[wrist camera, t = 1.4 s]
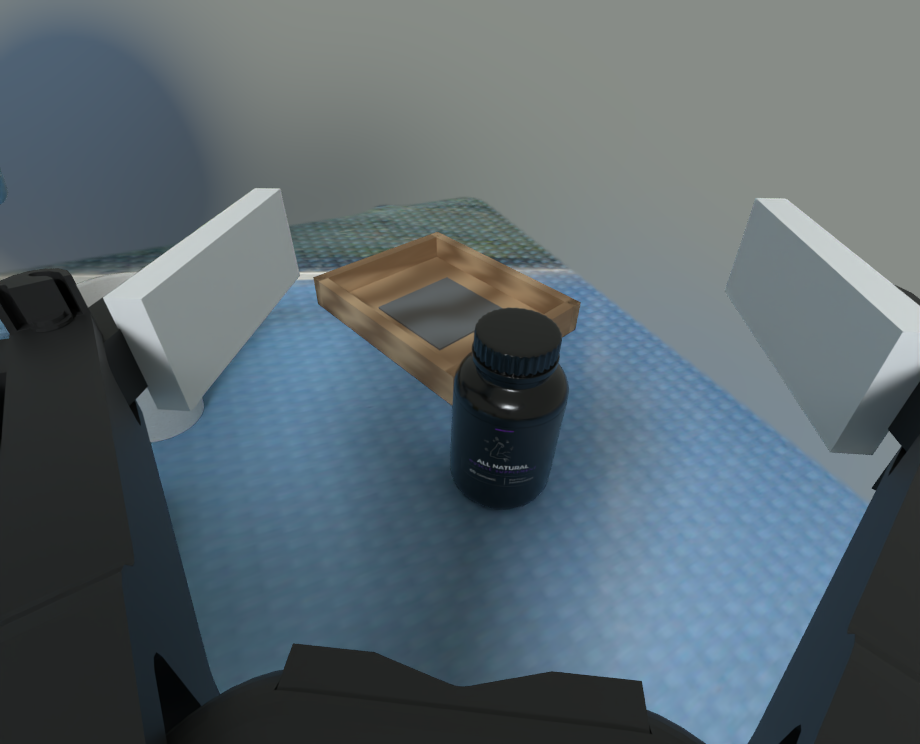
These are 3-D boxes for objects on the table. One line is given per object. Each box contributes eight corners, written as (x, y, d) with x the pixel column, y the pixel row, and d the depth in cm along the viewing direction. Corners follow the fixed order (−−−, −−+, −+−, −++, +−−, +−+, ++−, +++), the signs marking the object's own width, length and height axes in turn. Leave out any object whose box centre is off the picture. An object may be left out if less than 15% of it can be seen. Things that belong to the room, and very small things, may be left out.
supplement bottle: (482, 530, 32) (495, 385, 24) (433, 455, 36) (431, 314, 28) (569, 488, 34) (607, 346, 26) (513, 423, 39) (532, 286, 31)
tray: (318, 303, 51) (313, 277, 49) (437, 255, 60) (437, 231, 58) (452, 406, 40) (453, 377, 38) (575, 329, 49) (580, 302, 47)
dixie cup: (79, 459, 35) (-2, 343, 29) (130, 380, 41) (73, 271, 35) (203, 454, 36) (151, 339, 29) (235, 377, 42) (198, 269, 36)
